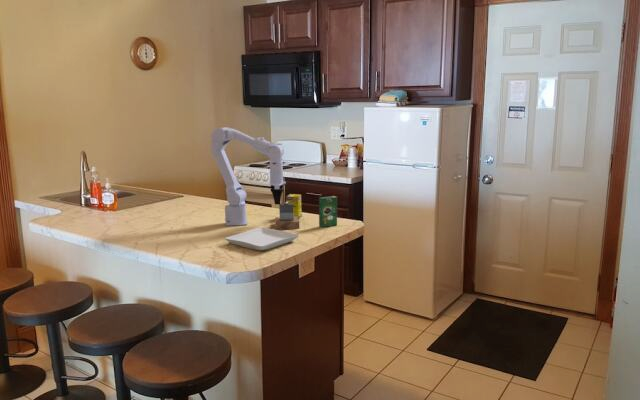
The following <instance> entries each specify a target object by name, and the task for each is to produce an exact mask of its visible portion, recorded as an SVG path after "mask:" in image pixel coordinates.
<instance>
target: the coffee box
mask: <svg viewBox="0 0 640 400" xmlns="http://www.w3.org/2000/svg"><path fill="white" fill-rule="evenodd" d="M318 225H319V228H327V227H335V226H338V196H335V195H332V196H321V197H318Z"/></svg>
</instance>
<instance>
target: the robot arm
mask: <svg viewBox="0 0 640 400" xmlns="http://www.w3.org/2000/svg"><path fill="white" fill-rule="evenodd" d="M210 138H211V146H210V147H211V148H210V150H211V153H212V156H213V158H214V160H215V162H216V164H217V167H218V170H219V173H220V174H221V176H222V179H223V181H224V183H225V186H226V188H225V194H226V201H227V202H228V204H225V205H224V214H225V216H224V217H225V218H224V221H225V226H227V227H228V226H230V227H231V226H247V225H248V221H249V220H248V219H247V206H246V202H245V200H246V199H247V198H248V196H247V195H248V194H247V191H246V190H245V189H244V188H243V186H242V184H240V183H239V182H238V179H237V178H236V176H235V172H234V171H233V167H232V166H231V163H230V160H229V158H228V156H227V154H226V153H227V152H226V151H225V148H226V147H227V145H228V144H229V142H230V141H234V140H236V141H239V142H242V143H244V144H246V145H249V146H252V148H253V150H255V151H256V152H259V153H261V154H263V155H267V156H268V158H269V185H270V192H271V195H272V197H273V201H274V202H273V203H274V205H279V204H280V203H281V200H282V194H283V192H284V188H283V187H284V184H285V185H287V184H286V183H287V182H286V181H284V169H283V168H284V164H283V163H284V162H283V155H284V148H283V146H282V145H280V144H279V143H276V144H275V143H274V142H273V141H271V142H270V141H268V140H266V139H265V137H257V138H254V137H252V136H250V135H248V134H246V133H243V132H242V131H240V130H237V129H235V128H232V127H229V126H224V127H216V128H215V129H214V130H213V131H212V134H211V136H210Z"/></svg>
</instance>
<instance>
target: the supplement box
mask: <svg viewBox="0 0 640 400" xmlns="http://www.w3.org/2000/svg"><path fill="white" fill-rule="evenodd" d="M285 199H286V201H285V202H288V203H293V216H294V217H297V216H298V219H299V220H300V218H302V217H303V216H302V214H303V213H302V194H298V193H297V194H295V193H293V194H292V193H289V194H288V195H286V197H285Z"/></svg>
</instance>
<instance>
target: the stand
mask: <svg viewBox="0 0 640 400" xmlns="http://www.w3.org/2000/svg"><path fill="white" fill-rule="evenodd" d="M275 228H276V229H275V230H292V229H293V230H295V229H300V218H299V219H298V216H297V217H294V220H290V221H280V216H278V217H277V216H276V217H275Z"/></svg>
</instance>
